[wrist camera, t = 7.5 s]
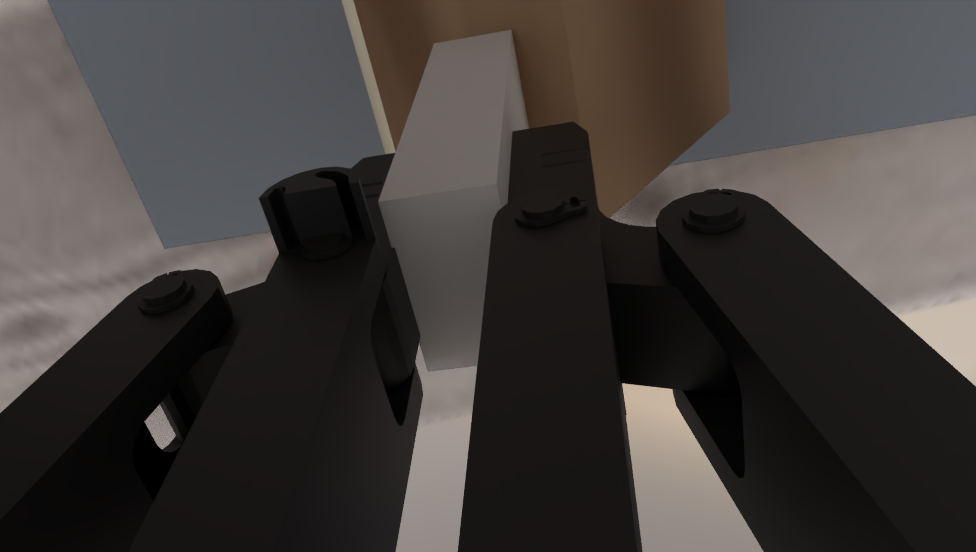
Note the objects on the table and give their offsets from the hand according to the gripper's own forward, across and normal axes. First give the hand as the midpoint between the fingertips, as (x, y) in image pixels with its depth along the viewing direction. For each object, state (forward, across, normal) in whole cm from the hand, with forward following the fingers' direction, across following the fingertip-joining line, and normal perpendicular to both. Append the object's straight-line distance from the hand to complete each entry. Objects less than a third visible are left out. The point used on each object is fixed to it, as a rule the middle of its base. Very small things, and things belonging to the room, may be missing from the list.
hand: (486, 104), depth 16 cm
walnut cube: (+5, -1, 0) cm, 6 cm away
